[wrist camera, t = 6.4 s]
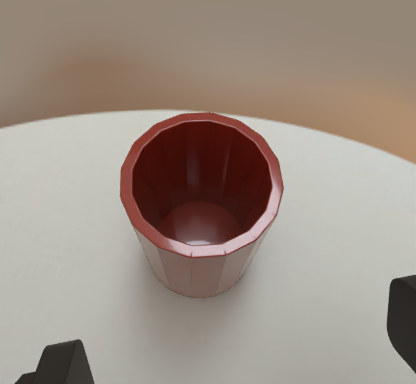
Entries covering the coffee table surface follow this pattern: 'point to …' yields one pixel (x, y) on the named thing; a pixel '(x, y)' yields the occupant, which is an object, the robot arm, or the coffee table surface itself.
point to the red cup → (200, 199)
